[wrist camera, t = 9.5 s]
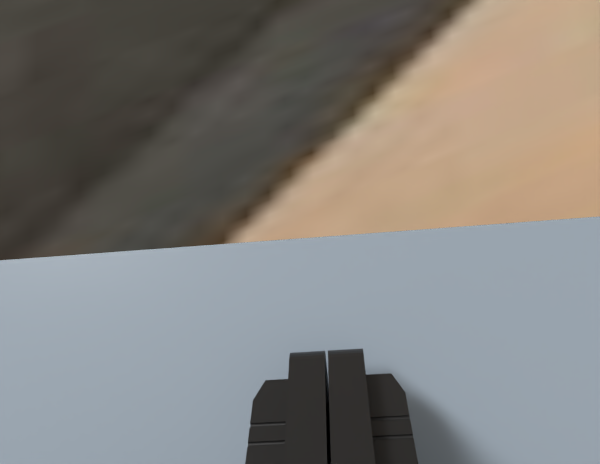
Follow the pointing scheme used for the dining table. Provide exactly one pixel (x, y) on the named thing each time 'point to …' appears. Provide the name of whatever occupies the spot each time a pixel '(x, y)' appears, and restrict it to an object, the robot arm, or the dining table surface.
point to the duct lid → (306, 342)
